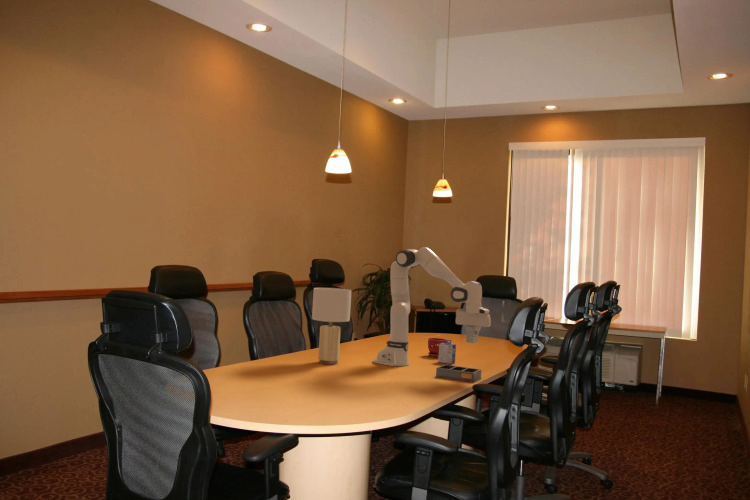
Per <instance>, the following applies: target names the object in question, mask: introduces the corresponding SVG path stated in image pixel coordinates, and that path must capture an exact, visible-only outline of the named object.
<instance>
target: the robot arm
mask: <svg viewBox="0 0 750 500" xmlns="http://www.w3.org/2000/svg"><path fill="white" fill-rule="evenodd" d="M419 266H421V267H422V268H423V269H424V271H426V272H427V273H428V274H429V276H432V277H434V278H437V279H441V280H443V281H446V282H447V283H448V284H449V285H450V286H451V287H452V289H451V291H450V293H449V294H450V298H451V300H452V301H453V302H454V303H458V304H459V303H462V304H463V303H465V308H457V309H456V311H455V325H460V326H464V329H465V331H466V332H465V333H466V334H467V326H478V330H477V331H476V333H475V334H478V335H479V334H480V331H481V329H482V328H490V327H491V325H492V324H491V323H492V320H491V319H492V318H491V315H490V310H489V309H488V308H485V307H483V304H482V299H483V289H482V288H483V287H482V284H481V283H480V282H478V281H473V280H469V281H467V282H466V283H465V282H463V281H462V280H461V278H459V276H457V275H456V274H455V273H454V272H453V271H452V270H451V269H450V268H449V267H448V266H447V265H446V264H445V263H444V262H443V260H442V259H441V258H440V257H439V256H438V255H437V254H436V253H435V252H434V251H433V250H431V249H430V248H429V247H427V246H423V247H420V248H419V249H418V248H417V249H416V248H415V249H414V248H408V249H401V250H400V251H398V252H397V253H396V255H395V261H393V262H392V263H391V266H390V272H389V273H390V276H389V277H390V293H391V300H392V301H391V302H392V305H391V307H390V333H389V336H390V337H389V340H387V341H386V343H385V344H386V346H385V347H384V348H382V349H381V350H379V351H378V352H377V356H376V358H374V359H373V360H372V363H376V364H380V365H384V366H390V367H396V366H397V367H406V366H409V365H410V363H409V353H408V350H409V315H410V313H411V300H410V297H411V296H410V287H409V286H410V285H409V284H410V283H409V270H410V269H413V268H416V267H419Z"/></svg>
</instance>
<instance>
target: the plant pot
mask: <svg viewBox="0 0 750 500" xmlns="http://www.w3.org/2000/svg"><path fill="white" fill-rule="evenodd" d="M427 340H428V341H427V347H428V348H427V349H428V351H429V352H427V353H428V355H429V356H430V357H434V358H439V344H440V343H446V340H447V339H446V338H439V337H429V338H428V339H427ZM447 342H449V341H447Z"/></svg>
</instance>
